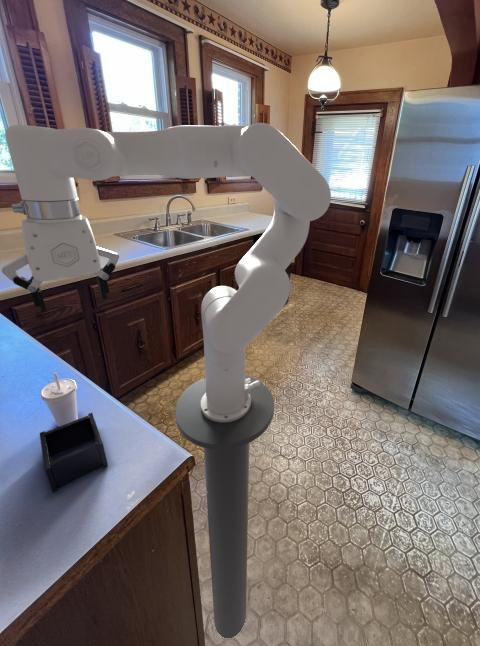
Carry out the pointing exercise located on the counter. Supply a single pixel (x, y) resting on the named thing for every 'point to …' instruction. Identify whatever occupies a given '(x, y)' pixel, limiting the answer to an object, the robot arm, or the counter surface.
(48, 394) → the smoothie
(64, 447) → the bottle stand
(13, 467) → the counter surface
